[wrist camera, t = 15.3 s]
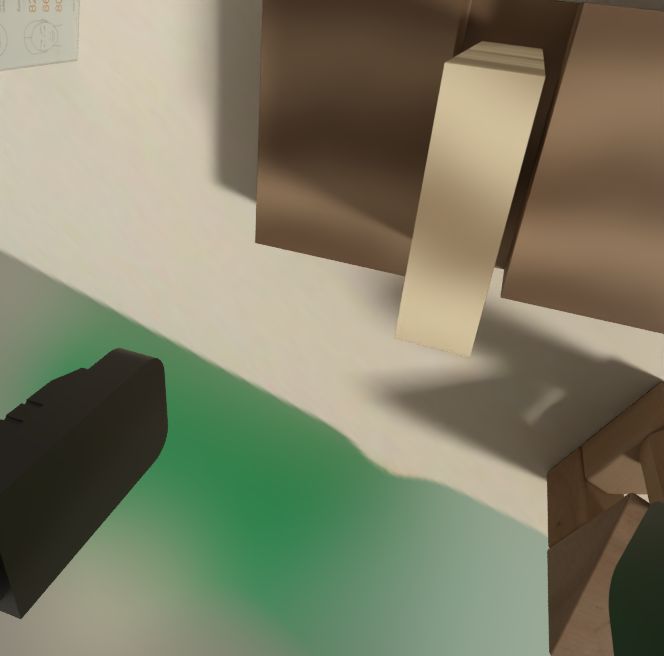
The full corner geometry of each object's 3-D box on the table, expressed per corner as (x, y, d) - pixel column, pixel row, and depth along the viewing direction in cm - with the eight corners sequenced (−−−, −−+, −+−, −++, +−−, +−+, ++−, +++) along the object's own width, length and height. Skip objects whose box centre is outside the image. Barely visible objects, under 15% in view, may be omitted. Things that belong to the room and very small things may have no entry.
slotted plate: (300, -28, 31) (264, -34, 27) (794, 27, 26) (843, 31, 22) (286, 217, 38) (255, 242, 34) (670, 297, 33) (689, 339, 29)
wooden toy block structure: (544, 471, 42) (548, 732, 27) (661, 377, 36) (750, 646, 21) (585, 499, 42) (613, 775, 27) (709, 410, 36) (833, 701, 21)
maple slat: (482, 40, 29) (444, 62, 17) (542, 48, 28) (545, 76, 17) (443, 226, 34) (394, 338, 23) (493, 236, 34) (469, 357, 22)
